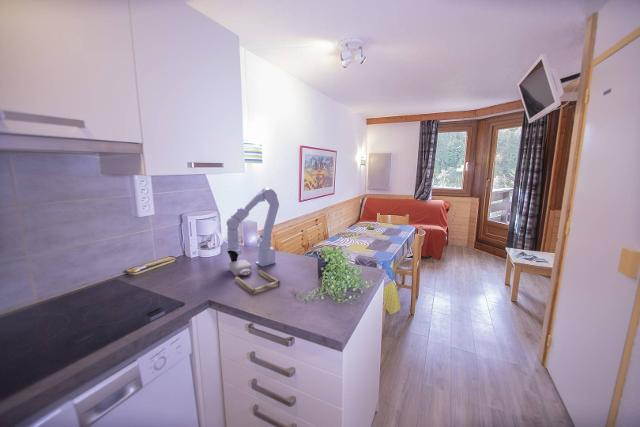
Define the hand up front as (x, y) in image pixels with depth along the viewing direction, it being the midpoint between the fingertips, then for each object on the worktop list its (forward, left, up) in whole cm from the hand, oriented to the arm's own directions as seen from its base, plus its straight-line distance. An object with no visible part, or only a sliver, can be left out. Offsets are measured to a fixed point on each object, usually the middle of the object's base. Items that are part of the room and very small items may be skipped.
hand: (234, 263), depth 145 cm
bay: (0, +25, -2) cm, 25 cm away
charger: (0, +10, -3) cm, 11 cm away
